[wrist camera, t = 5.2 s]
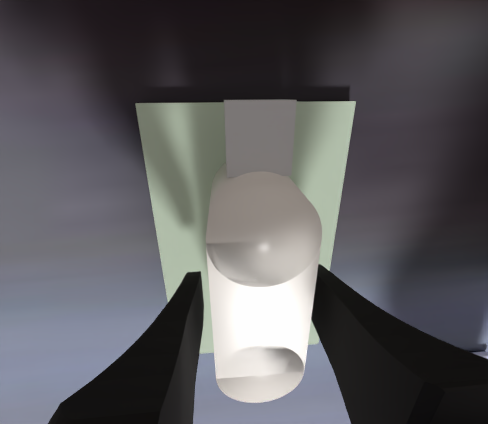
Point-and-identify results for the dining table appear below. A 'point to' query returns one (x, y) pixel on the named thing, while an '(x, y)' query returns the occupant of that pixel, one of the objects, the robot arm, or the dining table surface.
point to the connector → (260, 255)
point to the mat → (208, 163)
